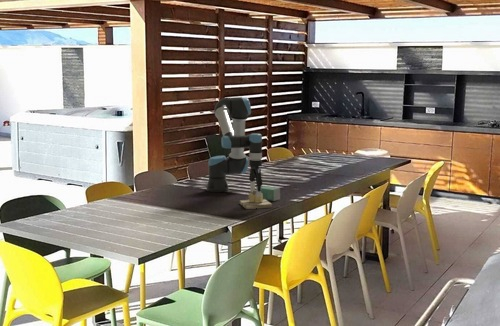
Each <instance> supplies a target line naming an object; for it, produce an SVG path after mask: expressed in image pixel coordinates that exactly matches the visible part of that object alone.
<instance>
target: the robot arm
mask: <svg viewBox="0 0 500 326" xmlns="http://www.w3.org/2000/svg"><path fill="white" fill-rule="evenodd" d="M251 113H252V108H251V102H250V100H249V98H248V97H242V96H241V97H239V96H237V97H223V98H221V99H220V100H218V101H217V103H216V104H215V106H214V115H215V118H217V120H218V125H219V127H220V131H221V134H222V136H221V137H220V138H221V140H220V143H221V148H223V149H231V150H230V153H228V157H226V155H216V156H212V157H210V158H209V159H208V180H207V185H206V192H211V193H223V192H228V191H229V185H228V184H229V183H228V182H227V179H226V178H227V176H226V175H242V174H243V175H244V174H246V173H247V171H248V168H249V167H250V171H249V179H248V180H249V181H250V184H249V186H250V188H249V189H250V193H253V191H254V190H256V197H261V187H262V186H263V179H262V172H261V168H260V167H262V166H263V160H262V159H263V135H262V134H261V133H256V132H255V133H250V134H247V135H246V120H247V119H248V118H249V116H250V115H251ZM231 119H232V120H231ZM245 149H248V151H249V152H248V156H249V158H248V157H247V155H246V153H245V152H244V151H245Z"/></svg>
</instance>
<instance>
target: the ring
mask: <svg viewBox="0 0 500 326" xmlns="http://www.w3.org/2000/svg"><path fill="white" fill-rule="evenodd" d="M248 200H249V201H250V202H262V201H263V194H262V193H261V197H256V195H254V194H253V192H250V193H248Z"/></svg>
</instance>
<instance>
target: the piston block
mask: <svg viewBox="0 0 500 326" xmlns="http://www.w3.org/2000/svg"><path fill="white" fill-rule="evenodd" d="M252 193H253V194H254V195H256V189H255V190H254V191H253V192H252ZM239 205H241V206H242V207H243V208H245V210H254V209H256V208H257V209H270V208H273V203H271V202H270V201H269V200H266V199H263V201H262V202H250V201H249V199H242V200H241V199H240V200H239ZM257 209H256V210H257Z"/></svg>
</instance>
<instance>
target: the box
mask: <svg viewBox="0 0 500 326" xmlns="http://www.w3.org/2000/svg"><path fill="white" fill-rule="evenodd" d="M261 193H262V194H263V199H266V200H267V201H269V202H270V201H271V202H275V201H280V200H281V188H280V187H275V186H267V185H265V186H264V185H261Z"/></svg>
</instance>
